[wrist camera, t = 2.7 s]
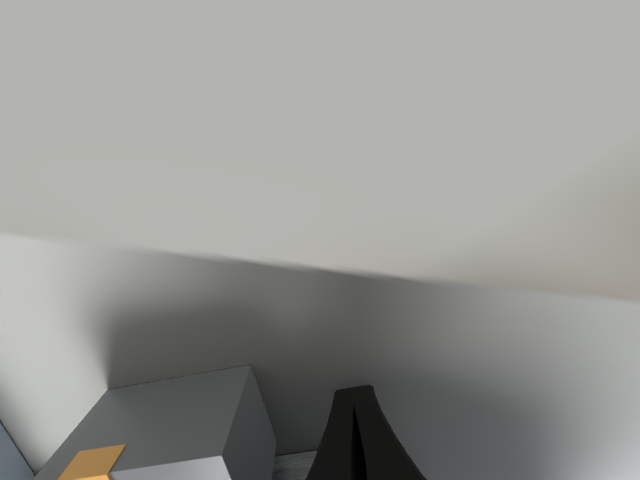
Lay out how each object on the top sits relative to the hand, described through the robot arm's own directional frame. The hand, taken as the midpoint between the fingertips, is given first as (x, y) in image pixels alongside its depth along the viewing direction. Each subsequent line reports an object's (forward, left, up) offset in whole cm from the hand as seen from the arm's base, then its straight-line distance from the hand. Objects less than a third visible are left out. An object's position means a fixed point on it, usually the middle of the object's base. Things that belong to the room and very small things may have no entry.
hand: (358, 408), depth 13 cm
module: (+7, 0, -1) cm, 7 cm away
